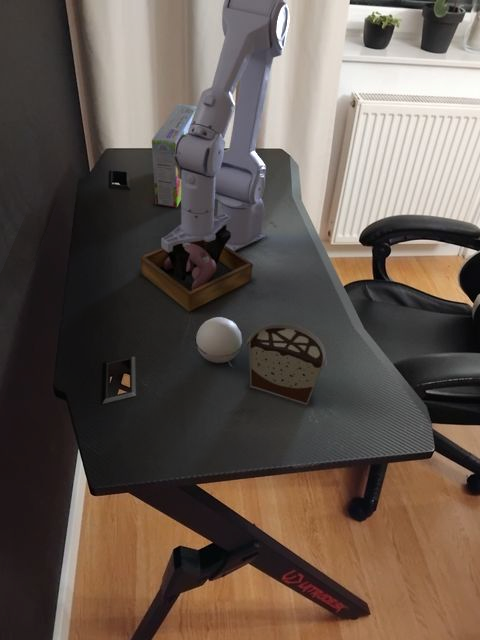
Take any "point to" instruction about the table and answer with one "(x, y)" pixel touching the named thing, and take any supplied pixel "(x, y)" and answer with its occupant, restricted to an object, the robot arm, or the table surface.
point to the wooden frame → (205, 292)
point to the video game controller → (200, 259)
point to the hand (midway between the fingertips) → (196, 270)
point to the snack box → (169, 155)
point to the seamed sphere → (218, 340)
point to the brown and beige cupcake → (285, 361)
